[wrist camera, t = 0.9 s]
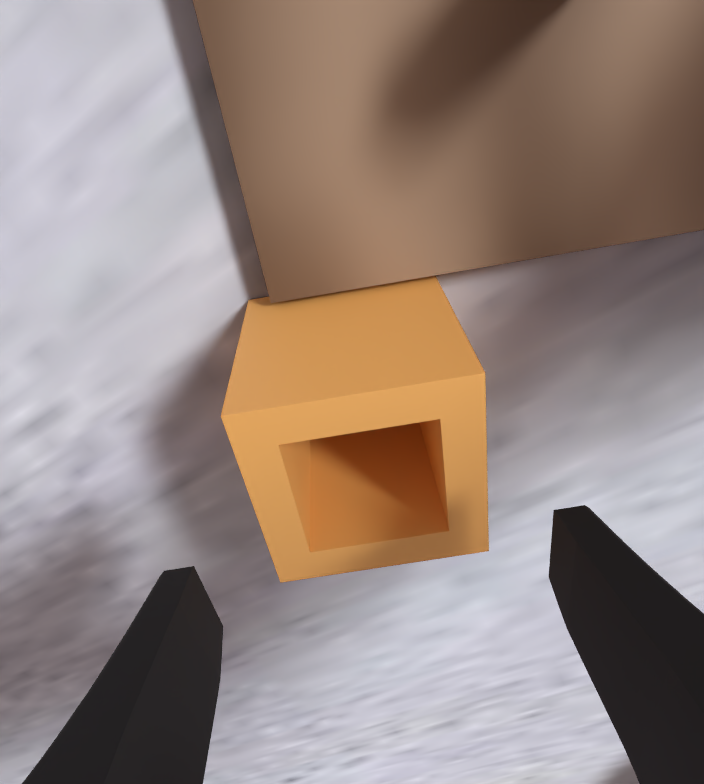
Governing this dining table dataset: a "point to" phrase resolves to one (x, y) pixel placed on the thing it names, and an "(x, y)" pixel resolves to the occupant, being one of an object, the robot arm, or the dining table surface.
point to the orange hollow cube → (360, 429)
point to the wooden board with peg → (455, 131)
